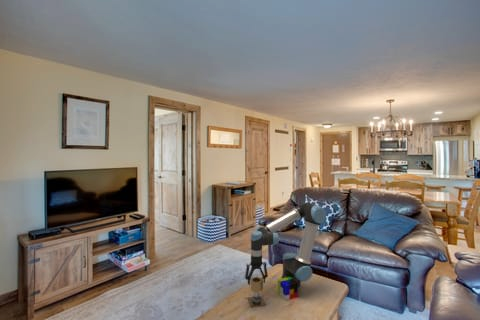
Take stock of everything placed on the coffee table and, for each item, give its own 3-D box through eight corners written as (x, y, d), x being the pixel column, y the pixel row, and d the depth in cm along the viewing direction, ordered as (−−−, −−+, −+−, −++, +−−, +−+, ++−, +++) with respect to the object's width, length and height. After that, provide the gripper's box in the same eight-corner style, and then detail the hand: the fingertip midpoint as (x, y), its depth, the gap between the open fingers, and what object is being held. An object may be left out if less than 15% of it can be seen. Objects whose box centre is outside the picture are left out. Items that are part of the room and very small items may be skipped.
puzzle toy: (285, 300, 171) (285, 286, 170) (277, 292, 180) (277, 279, 179) (297, 297, 174) (297, 283, 174) (289, 289, 184) (289, 276, 183)
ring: (249, 286, 171) (249, 277, 171) (260, 285, 173) (260, 276, 173) (252, 292, 163) (252, 283, 163) (263, 291, 165) (263, 282, 165)
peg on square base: (247, 298, 172) (247, 282, 172) (261, 297, 174) (261, 280, 174) (251, 307, 163) (251, 290, 162) (265, 305, 164) (265, 288, 164)
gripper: (242, 258, 162) (242, 292, 162) (273, 255, 166) (272, 289, 166) (240, 254, 169) (240, 286, 170) (269, 251, 173) (269, 283, 174)
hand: (256, 288), depth 168 cm, fingers closed on ring, 8 cm apart
